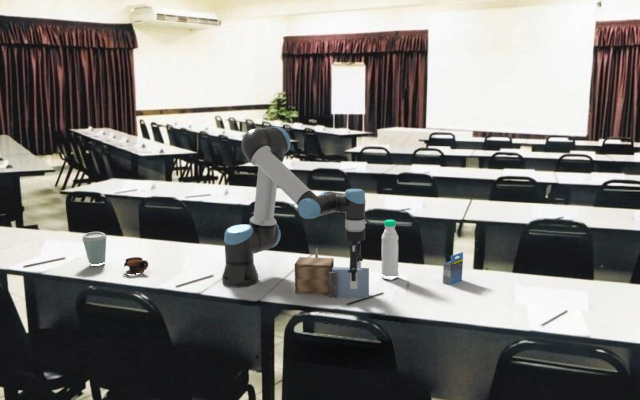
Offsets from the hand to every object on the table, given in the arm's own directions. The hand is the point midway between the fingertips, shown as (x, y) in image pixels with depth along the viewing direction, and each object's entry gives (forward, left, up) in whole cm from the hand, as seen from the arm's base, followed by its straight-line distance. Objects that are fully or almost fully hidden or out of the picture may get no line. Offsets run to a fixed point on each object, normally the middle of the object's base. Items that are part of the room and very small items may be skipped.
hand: (355, 283), depth 238 cm
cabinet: (-16, +3, -5) cm, 17 cm away
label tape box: (+38, +22, -5) cm, 44 cm away
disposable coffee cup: (-124, +28, -5) cm, 127 cm away
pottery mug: (-100, +19, -5) cm, 102 cm away
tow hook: (-19, +25, -6) cm, 32 cm away
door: (-2, 0, -5) cm, 6 cm away
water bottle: (+12, +24, -5) cm, 27 cm away
